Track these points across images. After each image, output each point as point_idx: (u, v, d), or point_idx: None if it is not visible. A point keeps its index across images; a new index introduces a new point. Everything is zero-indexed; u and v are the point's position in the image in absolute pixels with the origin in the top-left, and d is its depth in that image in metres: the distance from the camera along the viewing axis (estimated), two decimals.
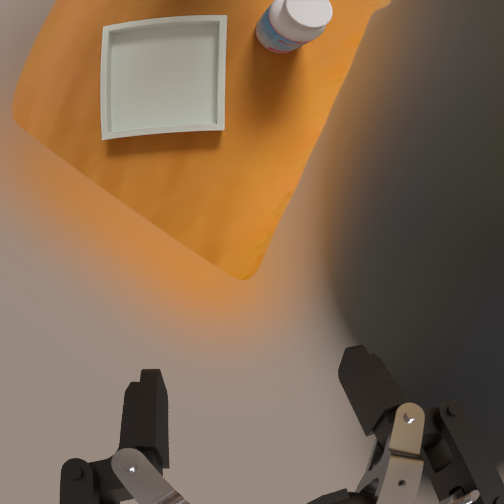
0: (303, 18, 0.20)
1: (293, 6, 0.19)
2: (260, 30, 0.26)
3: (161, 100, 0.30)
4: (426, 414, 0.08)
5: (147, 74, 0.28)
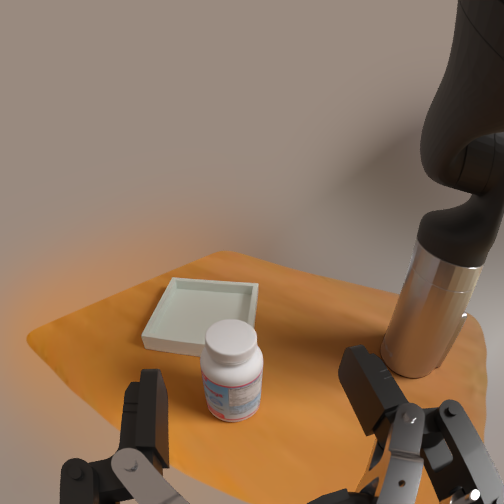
0: (215, 328, 0.26)
1: (230, 323, 0.27)
2: None
3: (184, 314, 0.43)
4: (426, 414, 0.08)
5: (209, 309, 0.44)
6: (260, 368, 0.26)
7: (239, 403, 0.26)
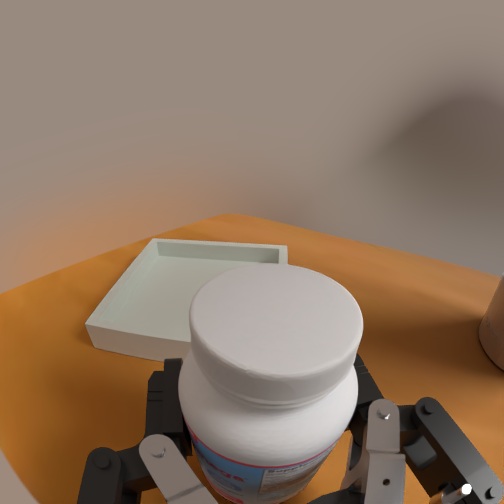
0: (225, 287, 0.08)
1: (270, 273, 0.09)
2: None
3: (166, 291, 0.25)
4: (402, 411, 0.09)
5: None
6: (355, 403, 0.08)
7: (285, 487, 0.08)
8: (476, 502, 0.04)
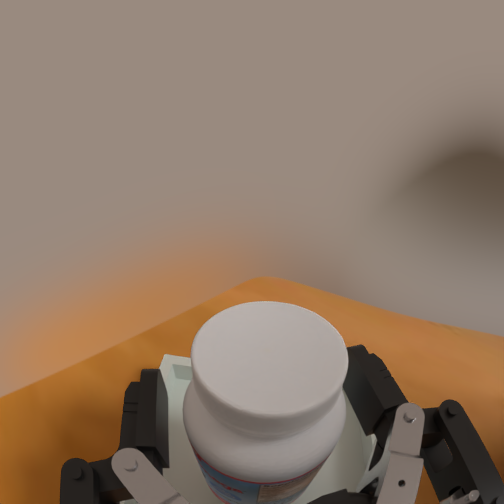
0: (223, 328, 0.09)
1: (264, 312, 0.10)
2: None
3: None
4: (426, 414, 0.08)
5: None
6: (343, 427, 0.09)
7: (281, 497, 0.09)
8: None
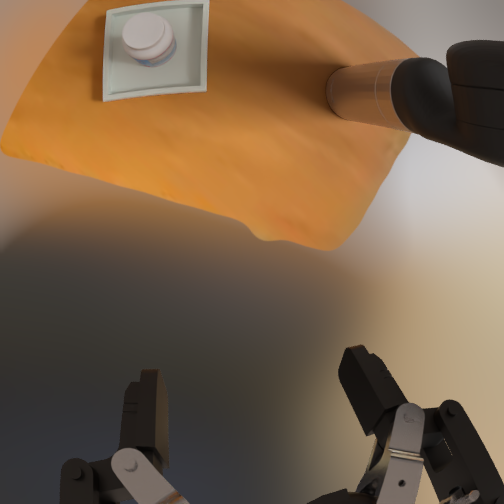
0: (129, 26, 0.22)
1: (141, 17, 0.21)
2: None
3: None
4: (426, 414, 0.08)
5: None
6: (170, 41, 0.26)
7: (158, 61, 0.29)
8: None
